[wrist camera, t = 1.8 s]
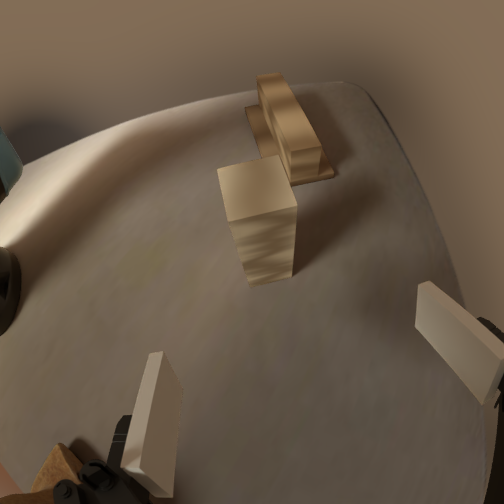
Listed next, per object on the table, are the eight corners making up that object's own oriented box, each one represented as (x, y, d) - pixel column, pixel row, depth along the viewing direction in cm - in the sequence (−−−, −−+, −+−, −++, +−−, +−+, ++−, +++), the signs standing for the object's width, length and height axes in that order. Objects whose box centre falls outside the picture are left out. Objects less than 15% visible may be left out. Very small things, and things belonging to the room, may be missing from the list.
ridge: (333, 177, 36) (340, 142, 30) (272, 190, 36) (270, 155, 30) (294, 102, 43) (294, 70, 37) (245, 112, 43) (240, 79, 37)
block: (250, 287, 31) (228, 222, 19) (241, 249, 33) (216, 169, 21) (291, 277, 31) (297, 205, 19) (280, 240, 33) (278, 154, 21)
